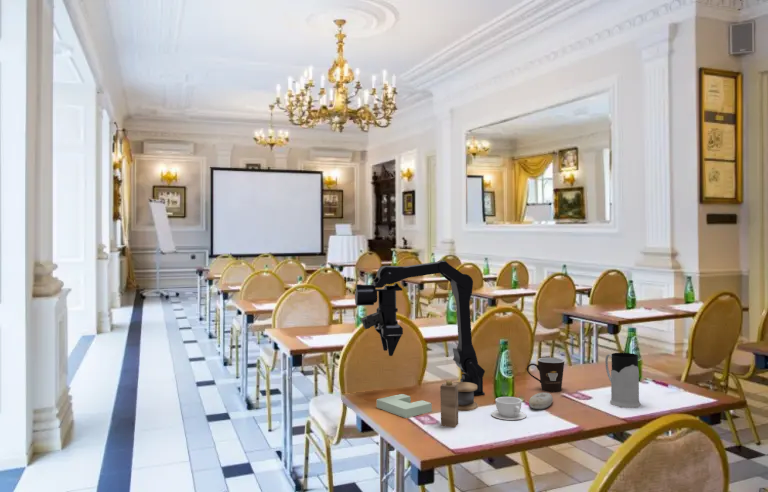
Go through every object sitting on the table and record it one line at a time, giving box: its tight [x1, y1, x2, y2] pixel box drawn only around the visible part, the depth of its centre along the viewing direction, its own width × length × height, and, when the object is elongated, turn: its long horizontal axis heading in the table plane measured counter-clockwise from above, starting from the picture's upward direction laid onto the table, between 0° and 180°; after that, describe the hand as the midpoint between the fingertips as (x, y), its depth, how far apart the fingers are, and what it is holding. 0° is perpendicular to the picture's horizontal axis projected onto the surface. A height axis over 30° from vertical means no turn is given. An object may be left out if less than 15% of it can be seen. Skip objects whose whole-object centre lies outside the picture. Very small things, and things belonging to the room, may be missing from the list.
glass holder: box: [605, 352, 642, 409], centre depth 182 cm, size 9×14×15 cm, turn 12°
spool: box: [453, 381, 478, 412], centre depth 179 cm, size 9×9×6 cm
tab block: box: [439, 379, 459, 428], centre depth 161 cm, size 4×4×12 cm
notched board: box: [376, 393, 433, 419], centre depth 176 cm, size 10×14×2 cm
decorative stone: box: [528, 391, 554, 410], centre depth 179 cm, size 6×16×3 cm, turn 151°
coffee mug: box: [526, 357, 565, 393], centre depth 198 cm, size 12×9×10 cm
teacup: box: [490, 396, 527, 421], centre depth 169 cm, size 10×10×5 cm
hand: (387, 353), depth 189 cm, fingers open, 9 cm apart
